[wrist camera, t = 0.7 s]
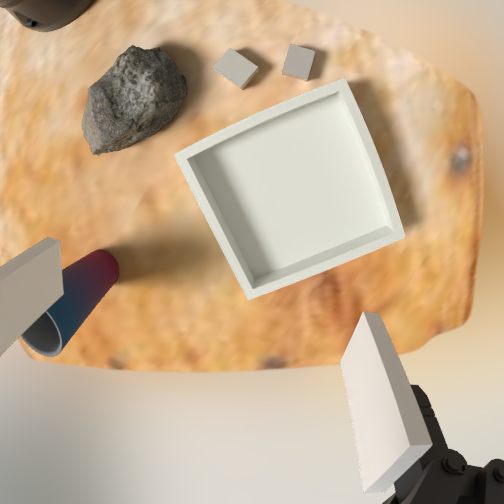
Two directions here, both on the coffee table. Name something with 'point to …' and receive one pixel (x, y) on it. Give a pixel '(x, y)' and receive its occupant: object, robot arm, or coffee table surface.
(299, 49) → the chip
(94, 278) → the cup
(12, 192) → the coffee table surface
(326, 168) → the bin
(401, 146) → the coffee table surface
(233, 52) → the grey small block
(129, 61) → the rock
